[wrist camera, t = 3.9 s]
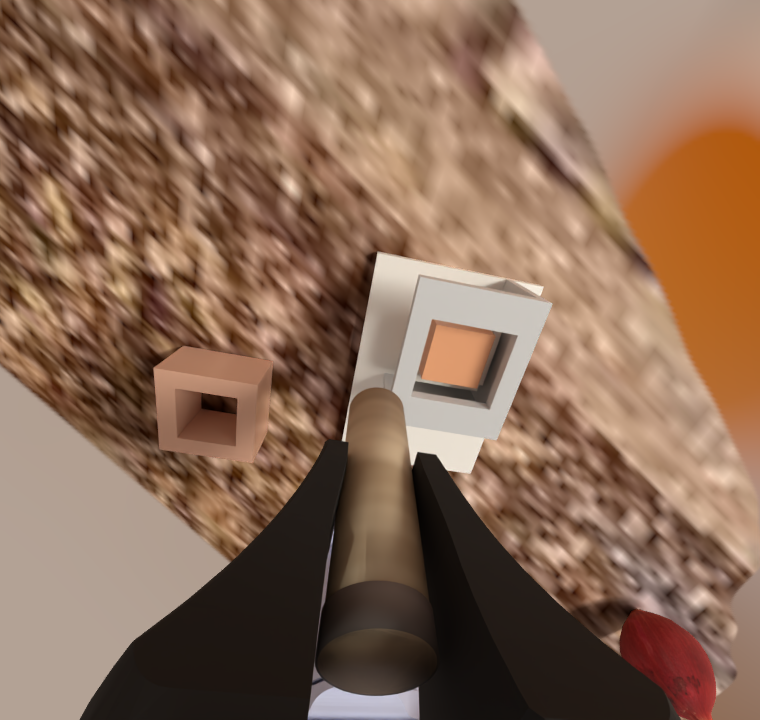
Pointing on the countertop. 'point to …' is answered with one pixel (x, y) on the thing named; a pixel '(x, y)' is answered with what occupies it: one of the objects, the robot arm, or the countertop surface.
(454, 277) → the square socket plate
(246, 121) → the countertop surface
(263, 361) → the stylus holder
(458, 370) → the button
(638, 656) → the onion
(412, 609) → the stylus
